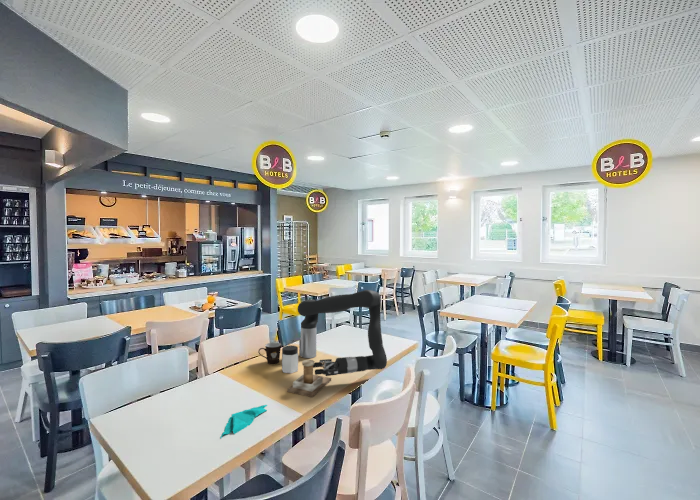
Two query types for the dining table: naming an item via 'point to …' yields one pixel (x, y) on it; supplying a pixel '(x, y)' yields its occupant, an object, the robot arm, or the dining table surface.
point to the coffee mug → (272, 352)
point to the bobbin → (308, 371)
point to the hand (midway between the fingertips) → (313, 368)
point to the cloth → (242, 419)
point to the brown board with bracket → (308, 385)
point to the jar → (289, 359)
